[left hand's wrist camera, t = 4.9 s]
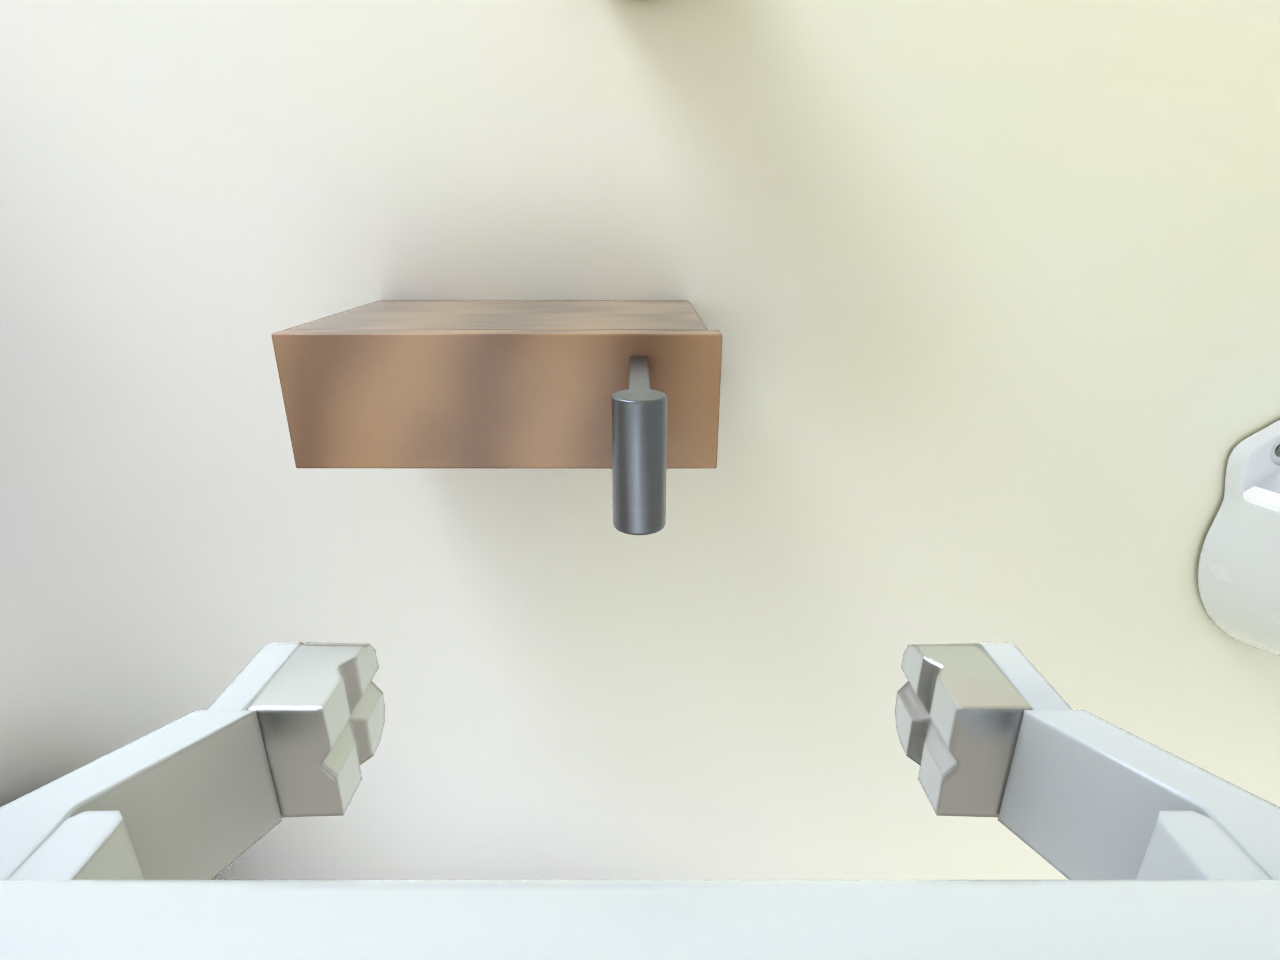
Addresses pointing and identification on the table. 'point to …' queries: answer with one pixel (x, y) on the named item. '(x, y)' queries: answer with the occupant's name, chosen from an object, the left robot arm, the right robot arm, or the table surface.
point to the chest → (512, 315)
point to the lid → (508, 403)
